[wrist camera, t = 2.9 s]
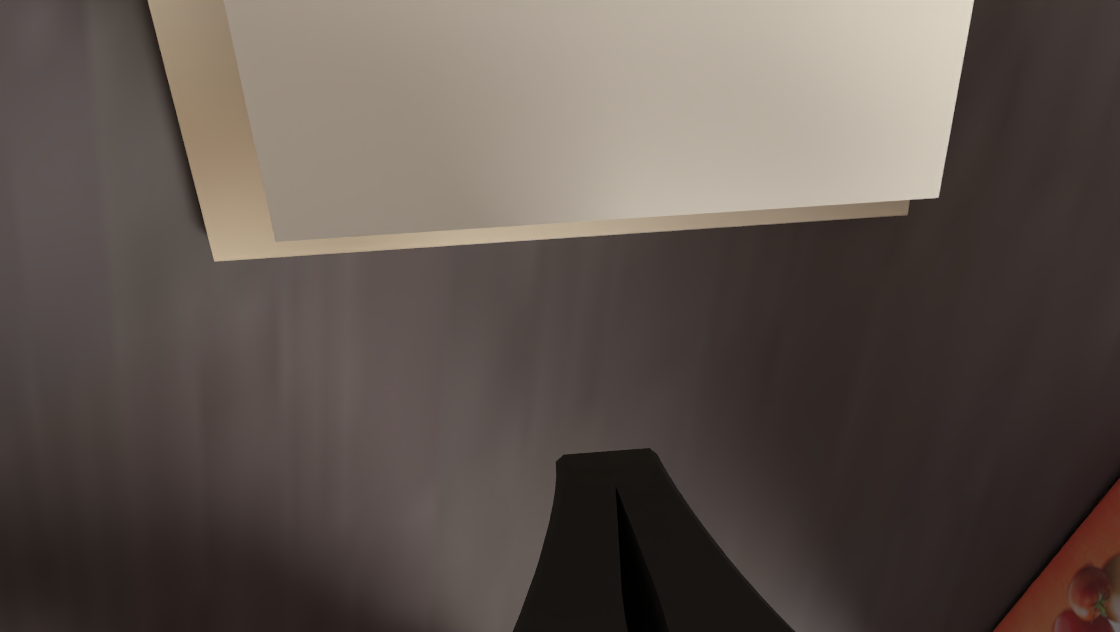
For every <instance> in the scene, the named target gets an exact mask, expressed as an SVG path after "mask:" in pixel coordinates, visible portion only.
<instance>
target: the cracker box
mask: <svg viewBox="0 0 1120 632" xmlns="http://www.w3.org/2000/svg"><path fill="white" fill-rule="evenodd" d="M993 632H1120V478H1119V479H1118V480H1117V482H1116V483H1115V484H1114V485H1113V486H1112V488H1111V489H1110V490H1109V491H1108V492H1107V494H1106V495H1105V496H1104V497H1103V498H1102V500H1101V501H1100V502H1099V503H1098V504H1097V506H1096V507H1095V508H1094V509H1093V511H1092V512H1091V513H1090V515H1089V516H1088V517H1087V518H1086V519H1085V520H1084V522H1083V523H1082V524H1081V525H1080V526H1079V527H1078V528H1077V530H1076V531H1075V532H1074V533H1073V535H1072V536H1071V537H1070V538H1069V539H1068V541H1067V542H1066V543H1065V544H1064V546H1063V547H1062V548H1061V550H1060V551H1059V552H1058V553H1057V554H1056V556H1055V557H1054V558H1053V559H1052V560H1051V561H1050V563H1049V564H1048V565H1047V567H1046V568H1045V569H1044V570H1043V571H1042V573H1041V574H1040V575H1039V576H1038V578H1037V579H1036V580H1035V581H1034V582H1033V583H1032V584H1031V585H1030V587H1029V588H1028V589H1027V590H1026V592H1025V593H1024V594H1023V595H1022V597H1021V598H1020V599H1019V600H1018V602H1017V603H1016V604H1015V605H1014V606H1013V608H1012V609H1011V610H1010V611H1009V612H1008V614H1007V615H1006V616H1005V617H1004V619H1003V620H1002V621H1001V622H1000V623H999V625H998V626H997V627H996V628H995V629H994V631H993Z"/></svg>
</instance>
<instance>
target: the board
mask: <svg viewBox="0 0 1120 632" xmlns="http://www.w3.org/2000/svg"><path fill="white" fill-rule="evenodd" d="M148 4H149V8H150V11H151V15H152V19H153V23H154V27H155V31H156V35H157V39H158V43H159V47H160V51H161V55H162V58H163V62H164V66H165V70H166V74H167V78H168V82H169V86H170V90H171V94H172V98H173V101H174V105H175V109H176V113H177V117H178V121H179V125H180V129H181V133H182V137H183V141H184V145H185V148H186V152H187V156H188V160H189V164H190V168H191V172H192V176H193V180H194V184H195V188H196V192H197V195H198V199H199V203H200V207H201V211H202V215H203V219H204V223H205V227H206V231H207V235H208V239H209V242H210V246H211V250H212V254H213V258H214V261H229V260H244V259H258V258H273V257H288V256H303V255H318V254H333V253H348V252H363V251H378V250H393V249H408V248H423V247H437V246H452V245H467V244H482V243H497V242H512V241H527V240H542V239H557V238H572V237H587V236H602V235H617V234H631V233H646V232H661V231H676V230H691V229H706V228H721V227H736V226H751V225H766V224H781V223H796V222H811V221H825V220H840V219H855V218H870V217H885V216H900V215H908V209H909V202H910V200H900V201H885V202H870V203H855V204H839V205H824V206H809V207H794V208H779V209H764V210H749V211H734V212H719V213H704V214H689V215H674V216H659V217H643V218H628V219H613V220H598V221H583V222H568V223H553V224H538V225H523V226H508V227H493V228H478V229H463V230H447V231H432V232H417V233H402V234H387V235H372V236H357V237H342V238H327V239H312V240H297V241H282V242H275V237H274V233H273V228H272V223H271V219H270V214H269V210H268V205H267V200H266V196H265V191H264V186H263V182H262V177H261V172H260V168H259V163H258V158H257V154H256V149H255V145H254V140H253V135H252V131H251V126H250V121H249V117H248V112H247V107H246V103H245V98H244V94H243V89H242V84H241V80H240V75H239V70H238V66H237V61H236V56H235V52H234V47H233V42H232V38H231V33H230V29H229V24H228V19H227V15H226V10H225V5H224V1H223V0H148Z"/></svg>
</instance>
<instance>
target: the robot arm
mask: <svg viewBox="0 0 1120 632" xmlns="http://www.w3.org/2000/svg"><path fill="white" fill-rule="evenodd" d="M513 632H795V631H794V630H793V629H792V628H791V627H790V626H789V625H788V624H787V623H786V622H785V621H784V620H783V619H782V618H781V617H780V616H779V615H778V614H777V613H776V612H775V611H774V610H773V608H772V607H771V606H770V605H769V604H768V603H767V602H766V601H765V600H764V599H763V598H762V597H761V596H760V594H759V593H758V592H757V591H756V590H755V589H754V588H753V586H752V585H751V584H750V583H749V582H748V581H747V580H746V579H745V577H744V576H743V575H742V574H741V573H740V572H739V570H738V569H737V568H736V567H735V566H734V564H733V563H732V562H731V561H730V560H729V558H728V557H727V556H726V555H725V553H724V552H723V551H722V549H721V548H720V547H719V546H718V544H717V543H716V542H715V540H714V539H713V538H712V537H711V535H710V534H709V533H708V531H707V530H706V529H705V527H704V526H703V525H702V523H701V522H700V521H699V519H698V518H697V517H696V515H695V514H694V512H693V511H692V510H691V508H690V507H689V505H688V504H687V502H686V501H685V499H684V498H683V496H682V495H681V493H680V492H679V490H678V489H677V487H676V486H675V484H674V483H673V481H672V479H671V478H670V476H669V475H668V473H667V471H666V469H665V468H664V466H663V464H662V462H661V461H660V459H659V457H658V455H657V454H656V453H655V452H654V451H652V450H651V449H650V448H646V449H633V450H620V451H606V452H593V453H580V454H567V455H563V456H562V457H561V458H560V459H558V460H557V461H556V487H555V495H554V502H553V507H552V512H551V517H550V521H549V526H548V529H547V533H546V537H545V540H544V544H543V548H542V551H541V555H540V559H539V562H538V565H537V568H536V571H535V574H534V577H533V580H532V582H531V585H530V588H529V591H528V594H527V596H526V599H525V602H524V605H523V607H522V610H521V613H520V615H519V618H518V620H517V623H516V625H515V627H514V630H513Z"/></svg>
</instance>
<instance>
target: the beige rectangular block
mask: <svg viewBox="0 0 1120 632" xmlns="http://www.w3.org/2000/svg"><path fill="white" fill-rule="evenodd" d="M223 1H224V5H225V10H226V15H227V19H228V24H229V29H230V33H231V38H232V42H233V47H234V52H235V56H236V61H237V66H238V70H239V75H240V80H241V84H242V89H243V94H244V98H245V103H246V107H247V112H248V117H249V121H250V126H251V131H252V135H253V140H254V145H255V149H256V154H257V158H258V163H259V168H260V172H261V177H262V182H263V186H264V191H265V196H266V200H267V205H268V210H269V214H270V219H271V223H272V228H273V233H274V237H275V242H282V241H297V240H312V239H327V238H342V237H357V236H372V235H387V234H402V233H417V232H432V231H447V230H463V229H478V228H493V227H508V226H523V225H538V224H553V223H568V222H583V221H598V220H613V219H628V218H643V217H659V216H674V215H689V214H704V213H719V212H734V211H749V210H764V209H779V208H794V207H809V206H824V205H839V204H855V203H870V202H885V201H900V200H915V199H930V198H939V193H940V187H941V181H942V176H943V170H944V165H945V159H946V154H947V148H948V143H949V137H950V131H951V126H952V120H953V115H954V109H955V104H956V98H957V93H958V87H959V81H960V76H961V70H962V65H963V59H964V54H965V48H966V43H967V37H968V32H969V26H970V20H971V15H972V9H973V4H974V0H223Z"/></svg>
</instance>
